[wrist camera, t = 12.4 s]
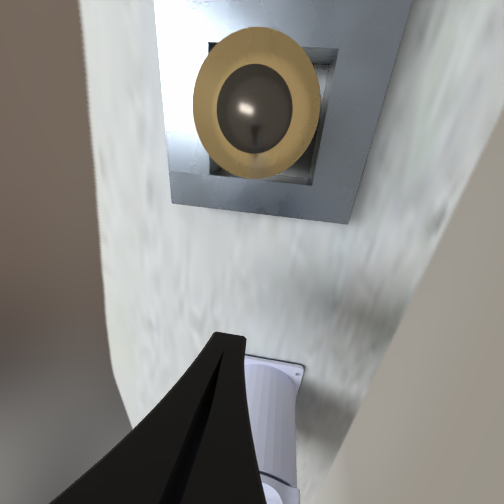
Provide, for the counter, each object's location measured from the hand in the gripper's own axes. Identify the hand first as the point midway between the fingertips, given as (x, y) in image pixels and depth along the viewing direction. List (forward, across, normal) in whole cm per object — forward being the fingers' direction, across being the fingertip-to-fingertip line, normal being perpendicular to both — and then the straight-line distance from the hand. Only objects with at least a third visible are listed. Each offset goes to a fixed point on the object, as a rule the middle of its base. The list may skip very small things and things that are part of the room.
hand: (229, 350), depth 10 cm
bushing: (+9, 0, -9) cm, 13 cm away
